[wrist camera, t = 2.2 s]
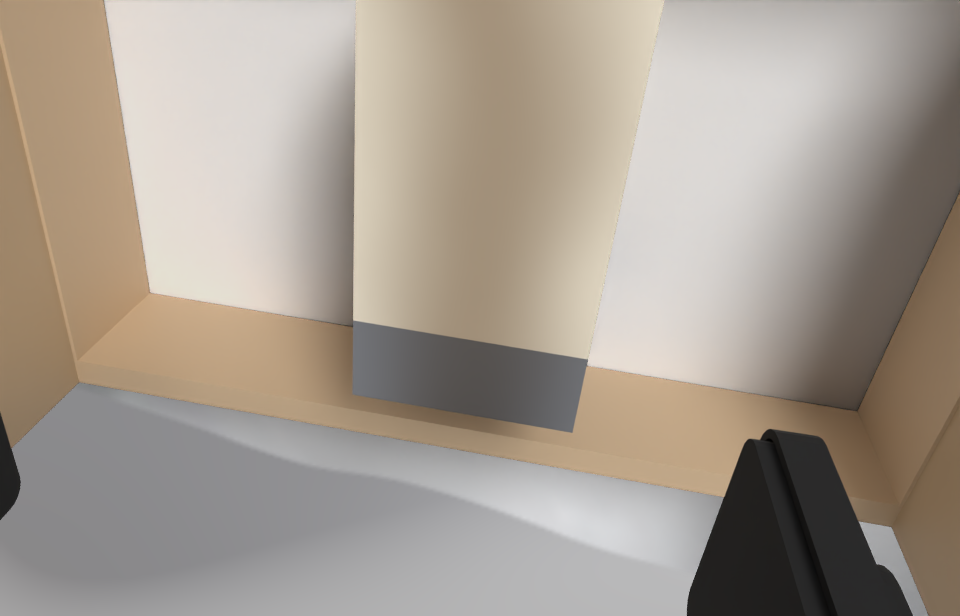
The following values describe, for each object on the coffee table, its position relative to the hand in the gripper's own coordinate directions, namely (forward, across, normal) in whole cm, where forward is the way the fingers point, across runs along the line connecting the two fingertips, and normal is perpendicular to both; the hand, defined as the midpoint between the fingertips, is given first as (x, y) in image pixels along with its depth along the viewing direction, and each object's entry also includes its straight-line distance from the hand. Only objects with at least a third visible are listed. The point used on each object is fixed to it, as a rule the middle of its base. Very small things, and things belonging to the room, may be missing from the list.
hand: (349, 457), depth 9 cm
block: (+13, -1, 0) cm, 13 cm away
